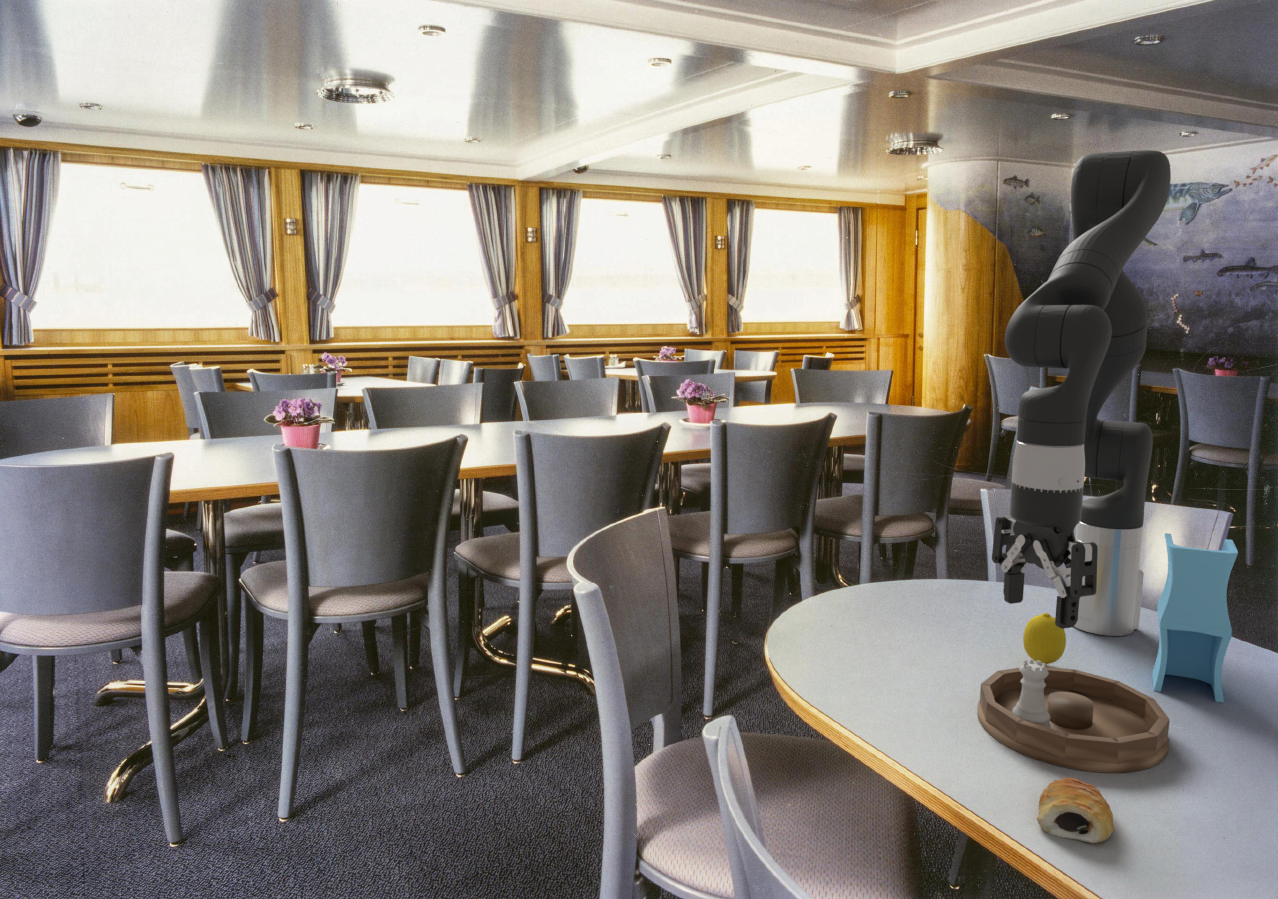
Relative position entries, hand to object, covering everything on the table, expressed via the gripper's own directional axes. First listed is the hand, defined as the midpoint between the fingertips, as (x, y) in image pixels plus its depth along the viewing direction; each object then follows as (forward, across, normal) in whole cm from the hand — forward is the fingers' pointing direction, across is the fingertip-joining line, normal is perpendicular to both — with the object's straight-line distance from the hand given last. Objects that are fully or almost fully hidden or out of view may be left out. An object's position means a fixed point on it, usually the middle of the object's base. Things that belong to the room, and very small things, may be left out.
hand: (1038, 613), depth 103 cm
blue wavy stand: (+16, +5, -30) cm, 34 cm away
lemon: (+16, +16, -16) cm, 27 cm away
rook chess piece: (+14, 0, 0) cm, 14 cm away
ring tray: (+15, 0, -6) cm, 16 cm away
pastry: (+15, -16, +8) cm, 24 cm away
